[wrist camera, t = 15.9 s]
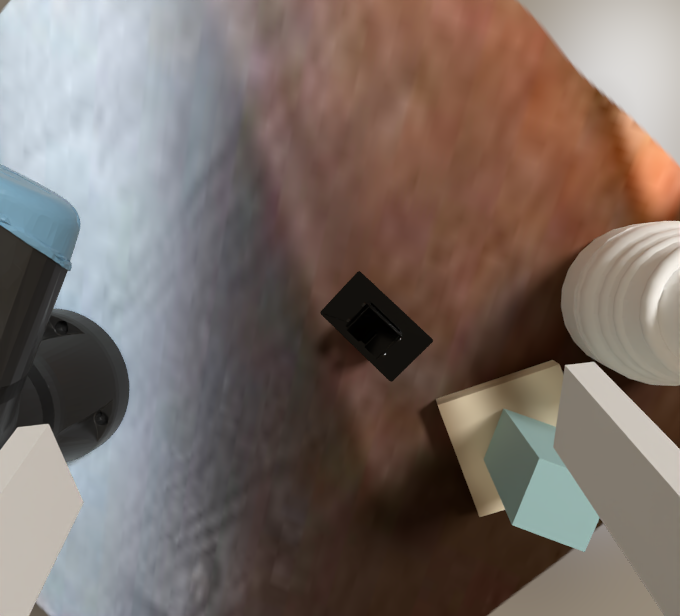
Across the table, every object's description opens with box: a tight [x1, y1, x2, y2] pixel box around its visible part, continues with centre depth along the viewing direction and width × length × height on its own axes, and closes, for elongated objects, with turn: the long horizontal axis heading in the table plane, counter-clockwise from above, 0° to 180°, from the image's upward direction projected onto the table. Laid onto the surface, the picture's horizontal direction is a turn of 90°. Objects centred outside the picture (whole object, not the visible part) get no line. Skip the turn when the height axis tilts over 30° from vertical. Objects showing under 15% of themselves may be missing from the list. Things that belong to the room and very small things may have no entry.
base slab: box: [436, 360, 563, 517], centre depth 45 cm, size 11×11×2 cm
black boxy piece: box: [321, 271, 433, 381], centre depth 44 cm, size 12×7×5 cm, turn 47°
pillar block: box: [483, 408, 600, 552], centre depth 38 cm, size 5×5×11 cm
